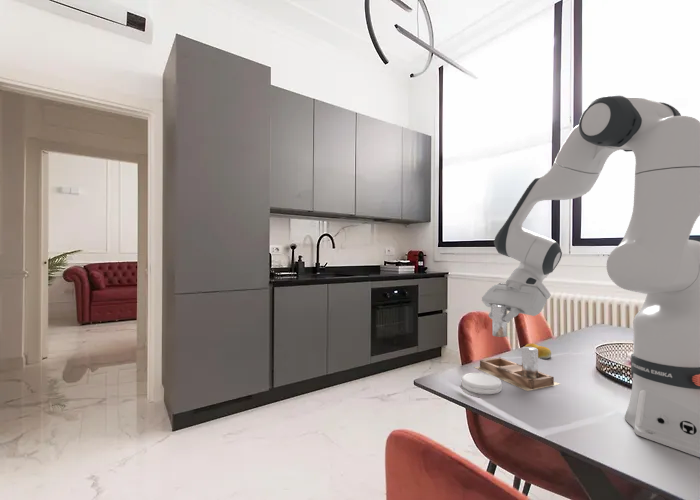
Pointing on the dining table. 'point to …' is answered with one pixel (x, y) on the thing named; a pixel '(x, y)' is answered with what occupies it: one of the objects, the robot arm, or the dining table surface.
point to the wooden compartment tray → (514, 374)
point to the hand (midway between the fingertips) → (497, 319)
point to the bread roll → (541, 351)
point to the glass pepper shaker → (499, 321)
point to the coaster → (481, 384)
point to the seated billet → (530, 362)
